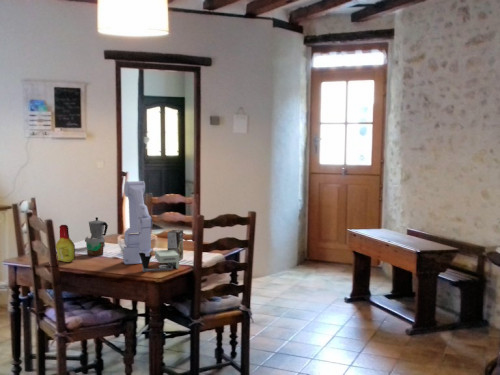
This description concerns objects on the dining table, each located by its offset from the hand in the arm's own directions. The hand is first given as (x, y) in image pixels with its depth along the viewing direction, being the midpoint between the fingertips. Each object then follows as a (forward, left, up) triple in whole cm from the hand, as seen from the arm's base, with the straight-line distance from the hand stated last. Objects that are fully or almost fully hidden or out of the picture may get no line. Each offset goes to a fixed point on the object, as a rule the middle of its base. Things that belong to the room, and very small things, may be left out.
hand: (145, 267), depth 287 cm
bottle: (-38, +34, -2) cm, 51 cm away
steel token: (+10, +6, -2) cm, 12 cm away
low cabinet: (+12, +8, -2) cm, 15 cm away
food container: (-23, +45, -2) cm, 50 cm away
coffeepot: (-18, +69, -2) cm, 71 cm away
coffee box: (+20, +21, -2) cm, 29 cm away
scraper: (+6, +4, -2) cm, 8 cm away
